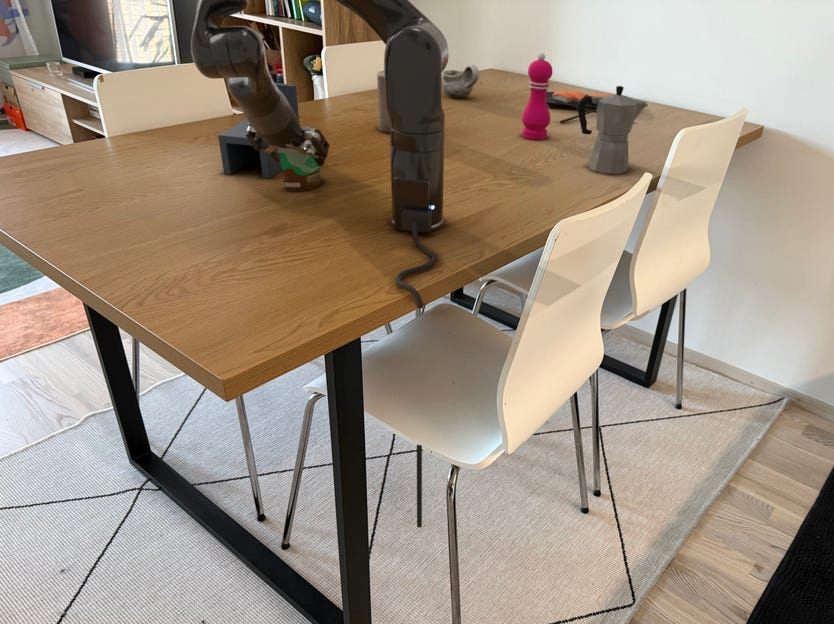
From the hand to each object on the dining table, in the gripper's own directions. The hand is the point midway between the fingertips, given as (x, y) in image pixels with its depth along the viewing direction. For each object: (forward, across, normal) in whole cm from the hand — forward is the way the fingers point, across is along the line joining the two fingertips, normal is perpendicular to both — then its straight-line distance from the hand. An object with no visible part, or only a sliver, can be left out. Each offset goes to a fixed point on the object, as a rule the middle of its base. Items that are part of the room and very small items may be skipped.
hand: (300, 160), depth 137 cm
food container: (+6, 0, +2) cm, 7 cm away
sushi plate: (+64, -53, -56) cm, 100 cm away
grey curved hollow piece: (+68, -15, -59) cm, 91 cm away
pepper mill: (+42, -41, -34) cm, 68 cm away
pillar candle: (+39, -6, -30) cm, 50 cm away
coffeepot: (+27, -59, -19) cm, 68 cm away
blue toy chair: (+14, +14, -5) cm, 20 cm away
